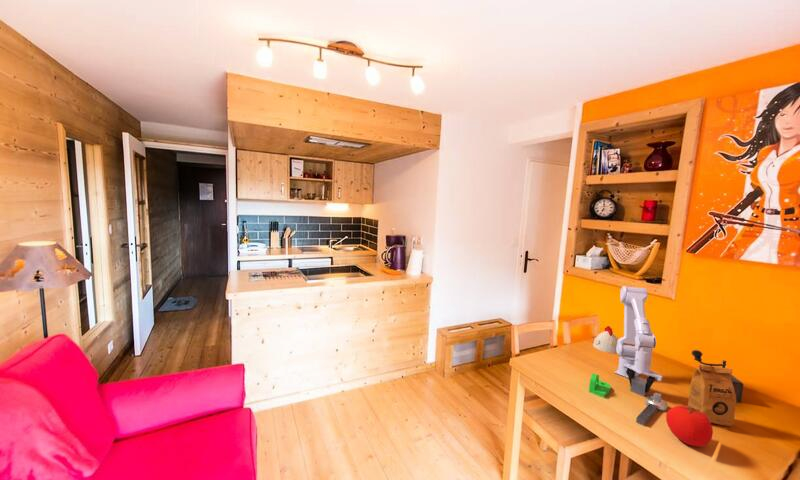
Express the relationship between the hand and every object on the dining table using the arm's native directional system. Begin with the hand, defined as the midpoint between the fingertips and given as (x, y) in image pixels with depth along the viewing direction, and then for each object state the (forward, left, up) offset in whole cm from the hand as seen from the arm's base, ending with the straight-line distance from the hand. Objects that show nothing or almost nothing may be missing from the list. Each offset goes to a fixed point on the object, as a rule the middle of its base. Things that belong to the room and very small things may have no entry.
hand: (639, 388), depth 146 cm
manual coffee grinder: (-29, +20, -2) cm, 35 cm away
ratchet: (+7, +8, -2) cm, 11 cm away
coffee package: (-1, +23, -2) cm, 23 cm away
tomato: (+24, +21, -2) cm, 32 cm away
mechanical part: (+13, -11, -2) cm, 17 cm away
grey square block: (0, 0, -2) cm, 2 cm away
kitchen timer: (-38, -27, -2) cm, 47 cm away
